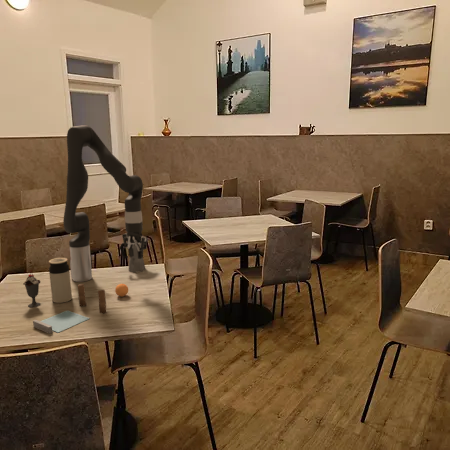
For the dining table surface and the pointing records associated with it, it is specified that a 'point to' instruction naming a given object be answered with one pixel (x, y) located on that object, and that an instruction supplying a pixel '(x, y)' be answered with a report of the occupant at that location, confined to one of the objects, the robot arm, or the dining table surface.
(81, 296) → the post inner
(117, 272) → the dining table surface
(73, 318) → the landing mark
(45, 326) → the wall
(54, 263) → the travel mug
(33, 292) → the sundae
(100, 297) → the post outer
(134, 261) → the coffeepot
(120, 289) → the ball
